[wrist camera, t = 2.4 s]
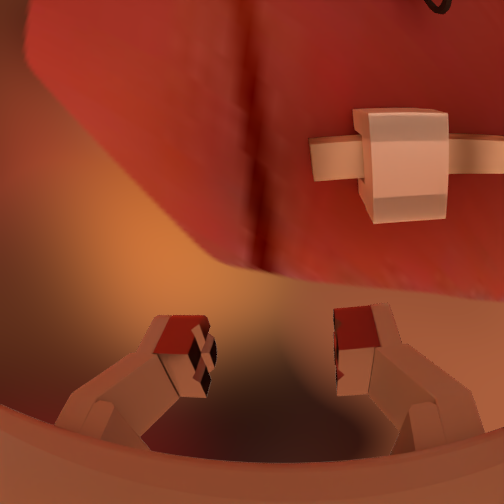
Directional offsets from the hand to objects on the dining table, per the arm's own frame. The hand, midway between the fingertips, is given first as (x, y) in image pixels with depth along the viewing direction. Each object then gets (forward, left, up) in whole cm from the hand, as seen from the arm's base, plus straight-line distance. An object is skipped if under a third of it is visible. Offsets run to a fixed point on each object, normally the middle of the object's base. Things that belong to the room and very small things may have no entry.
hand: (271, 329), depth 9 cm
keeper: (-9, 0, -21) cm, 23 cm away
